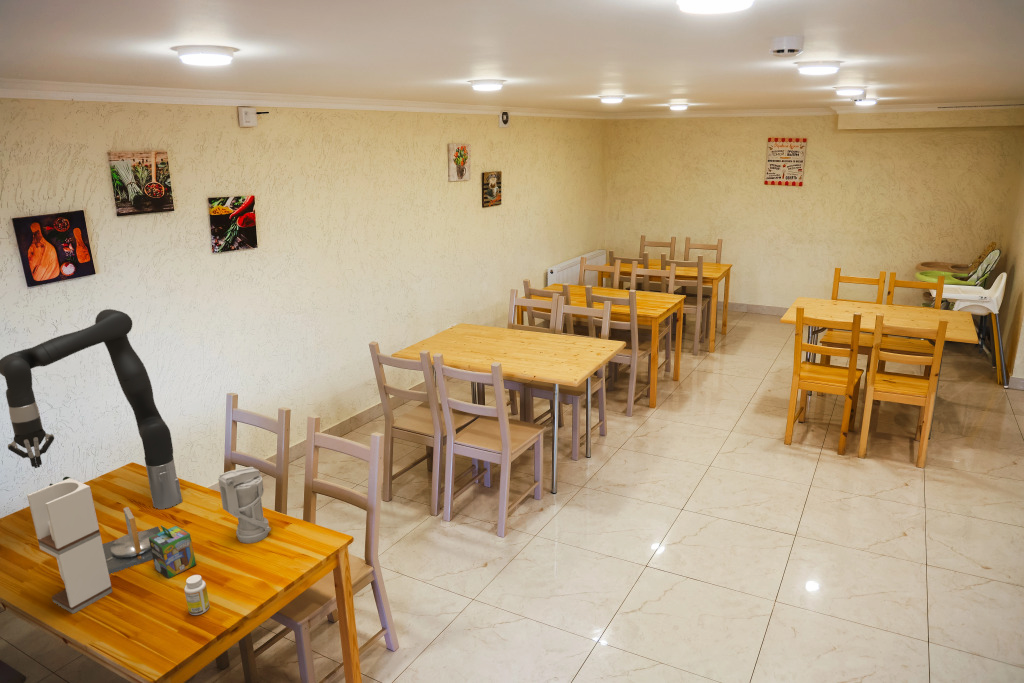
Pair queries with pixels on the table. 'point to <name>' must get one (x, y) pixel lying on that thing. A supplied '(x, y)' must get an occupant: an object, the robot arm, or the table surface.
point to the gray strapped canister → (245, 502)
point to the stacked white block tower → (72, 541)
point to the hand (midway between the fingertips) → (37, 466)
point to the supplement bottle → (196, 595)
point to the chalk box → (172, 551)
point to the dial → (131, 539)
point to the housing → (125, 562)
